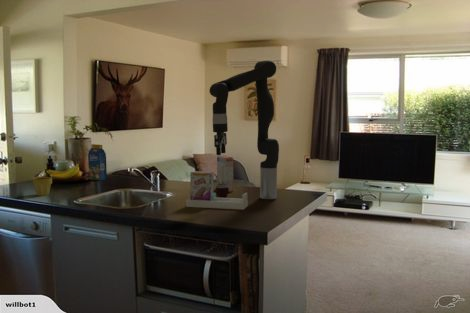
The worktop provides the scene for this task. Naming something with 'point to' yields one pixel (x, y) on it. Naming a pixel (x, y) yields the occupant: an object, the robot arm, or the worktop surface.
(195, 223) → the worktop surface
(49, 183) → the plant pot
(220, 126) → the robot arm
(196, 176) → the candy bar box
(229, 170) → the cracker box
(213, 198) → the pusher paddle
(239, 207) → the pusher lane
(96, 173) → the blue food package
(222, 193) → the mate gourd
